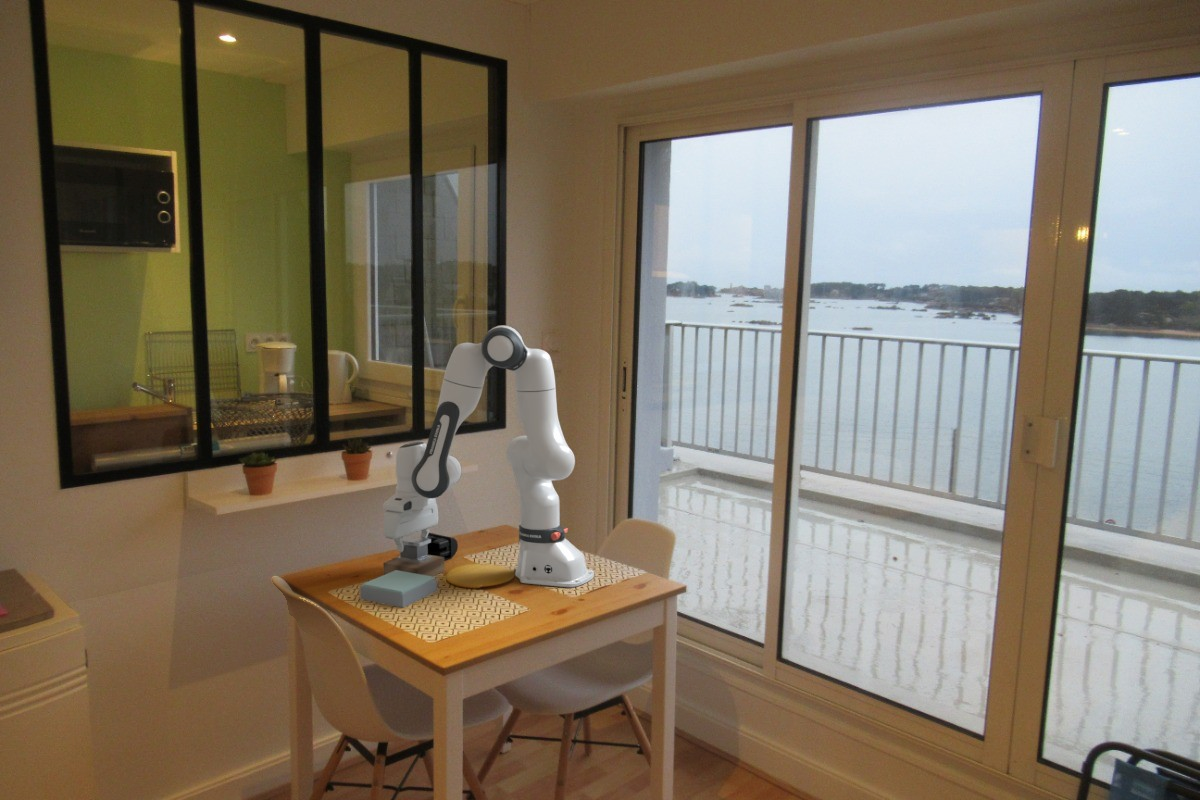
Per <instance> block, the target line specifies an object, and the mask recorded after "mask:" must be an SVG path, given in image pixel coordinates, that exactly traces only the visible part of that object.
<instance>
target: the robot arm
mask: <svg viewBox="0 0 1200 800" xmlns="http://www.w3.org/2000/svg"><path fill="white" fill-rule="evenodd" d="M492 367H496V368H500V369H505V370H507V371H508V370H509V371H512V372H513V375H514V381H515V397H516V401H515V402H516V413H517V414H516V416H517V419H518V421H519V423H520V425H521V426H522V428H523V430H524V432H525V435H519V436H517V437H514V438H513V439H511V440H510V441H509V442H508V444H507V446H506V449H505V450H506V451H505V458H506V460H507V463H508V465H509V466H510V467H511V470H512V472H513V475H514V479H515V483H516V487H517V491H518V496H519V508H520V509H519V511H520V512H519V513H520V517H519V519H520V520H519V521H520V523H519V525H518V540H519V541H518V542H519V552H518V558H517V559H518V560H517V566H516V570H515V573H514V575H515V577H517V578H518V579H519V581H520V583H522V584H529V585H530V584H532V585H542V586H551V587H559V588H560V587H562V588H563V587H564V588H574V587H579V586H582V585H584V584H586V583H588V582H590V581H591V580H592V579H593V578H594V577H595V571H594V570H592V569H588V568H587V563H586V557H585V555H584V553H583V552H582V551H581V550H579V549H578V548H577V547H576V546H575V545H574V544H573V543H572V542H570V541H569V540H568V539H567V538H566V535H565V533H568V529H569V528H568V527H566V528H564V529H563V527H562V524H561V522H560V519H561V517H560V516H561V515H560V496H559V494H558V493H557V491H556V489H555V488H554V484H553V482H552V481H562V480H564V479H567V478H568V477H569V476H571V474H572V472H573V471H574V469H575V464H576V457H575V455H574V452H573V451H572V449H571V448H570V446H569V445H568V443H567V441H566V439H565V437H564V433H563V430H562V428H561V427H562V426H561V423H560V421H559V414H558V405H557V404H558V403H557V389H556V376H555V371H554V364H553V361H552V358H551V356H550V354H549V353H548V352H547V351H546V350H543V349H541V348H531V347H527V346H526V344H525V343H524V337H523V336H522V334H521V333H520V332H519V330H518V329H516V328H515V327H513V326H510V325H497V326H494V327H492V328H491V329H490V330H488V331H487V333H486V334H485V335H484V337H483V339H482V340H481V341H480V342H479V343H475V342H474V343H473V342H463V343H458V344H457V345H455V346H454V348H453V350H452V352H451V355H450V356H449V359H448V362H447V365H446V368H445V372H444V375H443V379H442V384H441V388H440V394H439V398H438V402H437V403H438V404H437V407H436V413H435V416H434V420H433V423H432V427H431V430H430V433H429V436H428V439H427V443H425V442H423V441H415V442H414V441H413V442H409V443H405V444H403V445H401V446H400V447H398V449H397V452H396V457H395V477H396V481H397V482H396V487H395V493H394V494H392V496H390V497H389V498H388V499H387V500H385V501H384V502H383V505H382V507H383V511H384V510H385V512H384V514H383V517H382V518H383V519H382V520H383V522H382V523H383V524H382V528H383V535H384V537H385V538H386V539H388V540H393V541H394V543H395V545H396V550H397V553H400V552H403V551H405V545H403V543H402V540H403V537H406V536H410V535H411V534H414V533H418V532H421V534H420V537H422V538H427V536H428V534H429V533H430V531H431V530H430V528H432V527H434V526H437V525H438V522H439V510H438V504H437V501H436V499H437V498H438V497H440V496H442V495H444V493H445V492H446V491H447V490H449V489H451V488H452V487H454V486H455V485H456V484H457V483H458V482H459V481H460V479H461V477H462V474H463V473H462V472H463V469H462V464H461V462H460V461H459V460H458V459H457V458H456V457H455V456H453V455H451V454H450V452H451V449H452V445H453V441H454V439H455V436H456V433H457V431H458V429H459V427H460V426H461V424H462V423H463V422H464V421H465V420H466V419H467V418H468V417H469V416H470V415H471V414H473V412H474V411H475V410H476V408H477V406H478V404H479V401H480V398H481V396H482V393H483V388H484V384H485V379H486V376H487V373H488V372H489V370H490V369H491V368H492Z"/></svg>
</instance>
